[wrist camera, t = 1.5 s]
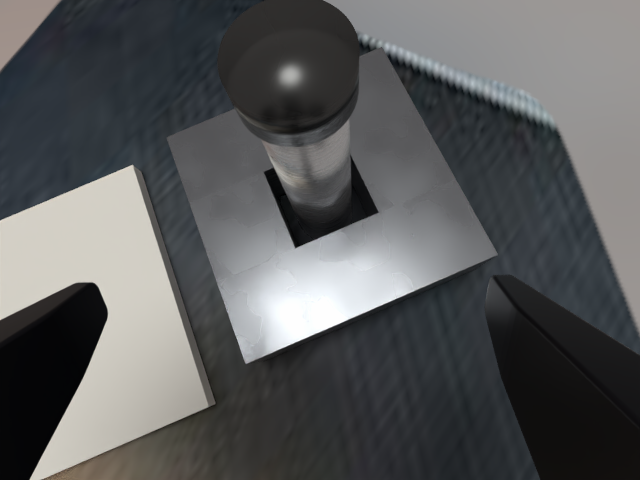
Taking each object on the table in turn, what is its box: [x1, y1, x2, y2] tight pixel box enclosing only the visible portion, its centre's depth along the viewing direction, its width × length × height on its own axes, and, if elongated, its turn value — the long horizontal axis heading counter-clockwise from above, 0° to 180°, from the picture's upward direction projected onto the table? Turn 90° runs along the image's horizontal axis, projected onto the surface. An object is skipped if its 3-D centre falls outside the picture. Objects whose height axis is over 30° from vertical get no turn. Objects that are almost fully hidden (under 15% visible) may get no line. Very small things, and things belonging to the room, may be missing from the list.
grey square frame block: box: [167, 47, 498, 364], centre depth 21 cm, size 12×12×4 cm
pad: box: [0, 165, 216, 480], centre depth 22 cm, size 14×14×1 cm
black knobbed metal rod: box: [218, 0, 359, 239], centre depth 17 cm, size 4×4×13 cm
